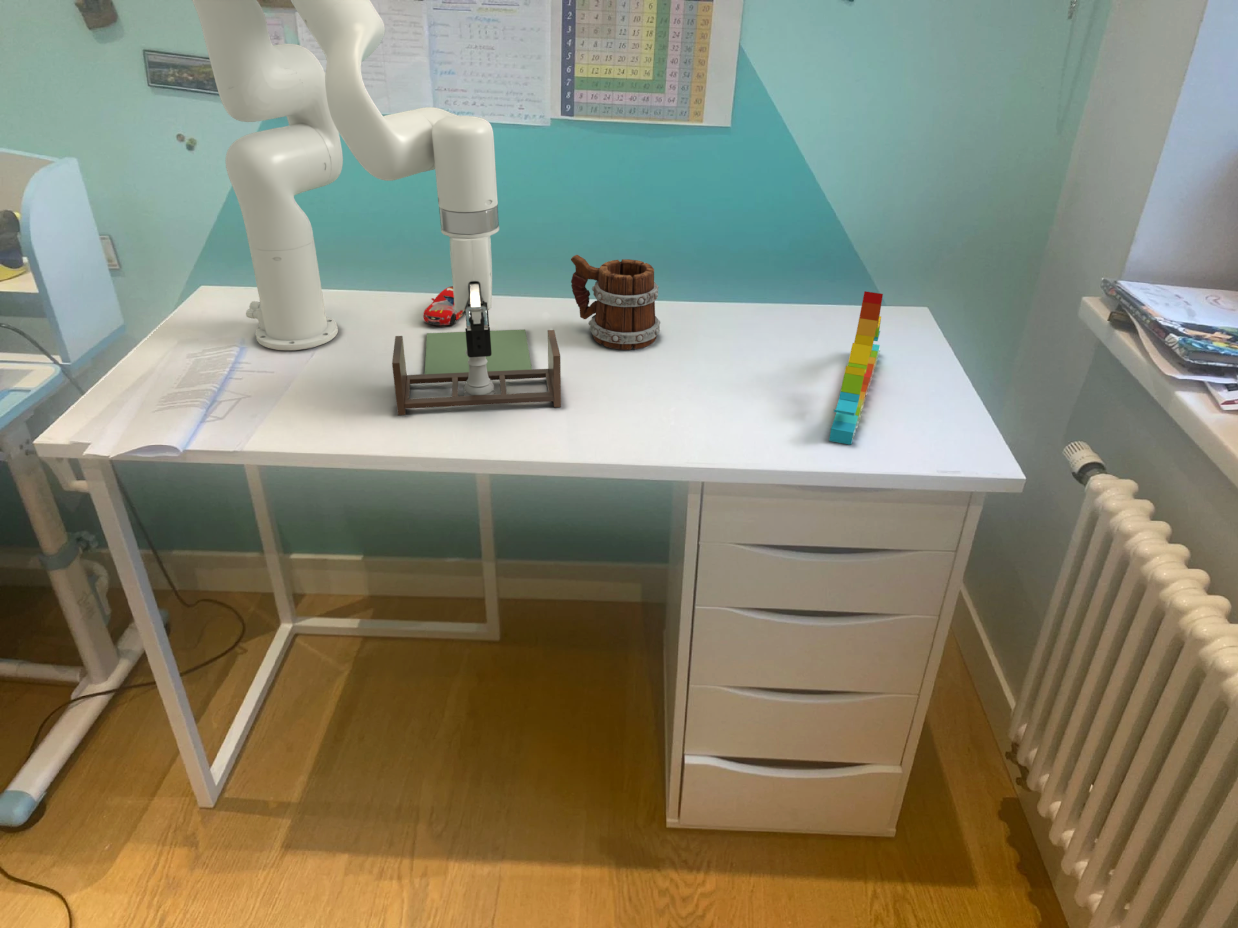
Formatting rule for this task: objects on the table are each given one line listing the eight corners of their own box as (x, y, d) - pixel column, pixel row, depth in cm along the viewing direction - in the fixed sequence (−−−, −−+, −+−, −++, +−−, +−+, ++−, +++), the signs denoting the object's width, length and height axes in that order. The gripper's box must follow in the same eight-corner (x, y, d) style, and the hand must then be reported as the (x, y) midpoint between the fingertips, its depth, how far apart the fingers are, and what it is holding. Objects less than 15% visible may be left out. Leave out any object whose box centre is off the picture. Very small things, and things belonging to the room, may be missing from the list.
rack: (400, 386, 134) (395, 335, 130) (554, 379, 138) (554, 329, 133) (397, 415, 127) (391, 363, 123) (561, 407, 130) (560, 355, 126)
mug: (656, 355, 145) (644, 263, 138) (571, 357, 149) (555, 268, 142) (672, 327, 155) (661, 239, 147) (592, 330, 159) (578, 245, 152)
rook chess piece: (500, 392, 133) (497, 342, 129) (486, 406, 130) (483, 354, 126) (472, 387, 135) (469, 337, 130) (458, 400, 131) (454, 349, 127)
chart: (852, 445, 123) (871, 342, 115) (828, 440, 124) (845, 338, 116) (879, 356, 147) (896, 266, 140) (859, 353, 148) (874, 263, 140)
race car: (447, 331, 152) (445, 308, 150) (418, 326, 153) (416, 303, 151) (483, 303, 162) (482, 281, 160) (456, 298, 164) (454, 277, 162)
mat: (427, 335, 150) (426, 333, 150) (525, 331, 152) (525, 329, 152) (424, 379, 137) (424, 376, 136) (532, 374, 139) (532, 371, 139)
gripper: (440, 202, 125) (451, 319, 134) (439, 240, 111) (451, 369, 120) (495, 200, 126) (503, 316, 135) (501, 238, 112) (509, 366, 121)
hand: (478, 341), depth 127 cm, fingers open, 9 cm apart
